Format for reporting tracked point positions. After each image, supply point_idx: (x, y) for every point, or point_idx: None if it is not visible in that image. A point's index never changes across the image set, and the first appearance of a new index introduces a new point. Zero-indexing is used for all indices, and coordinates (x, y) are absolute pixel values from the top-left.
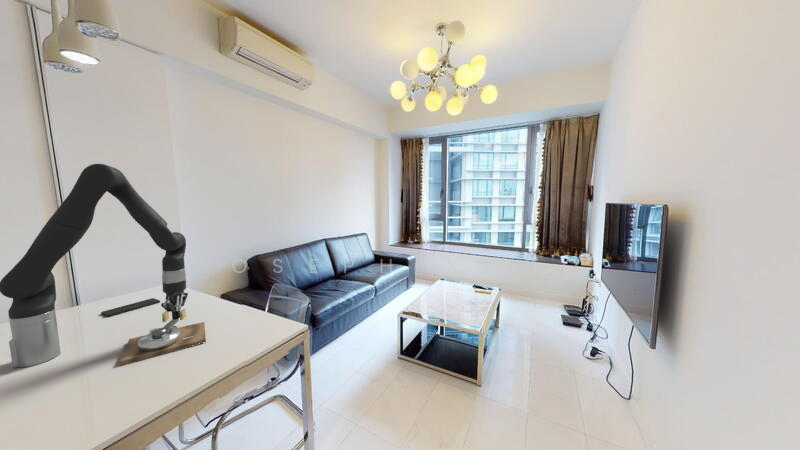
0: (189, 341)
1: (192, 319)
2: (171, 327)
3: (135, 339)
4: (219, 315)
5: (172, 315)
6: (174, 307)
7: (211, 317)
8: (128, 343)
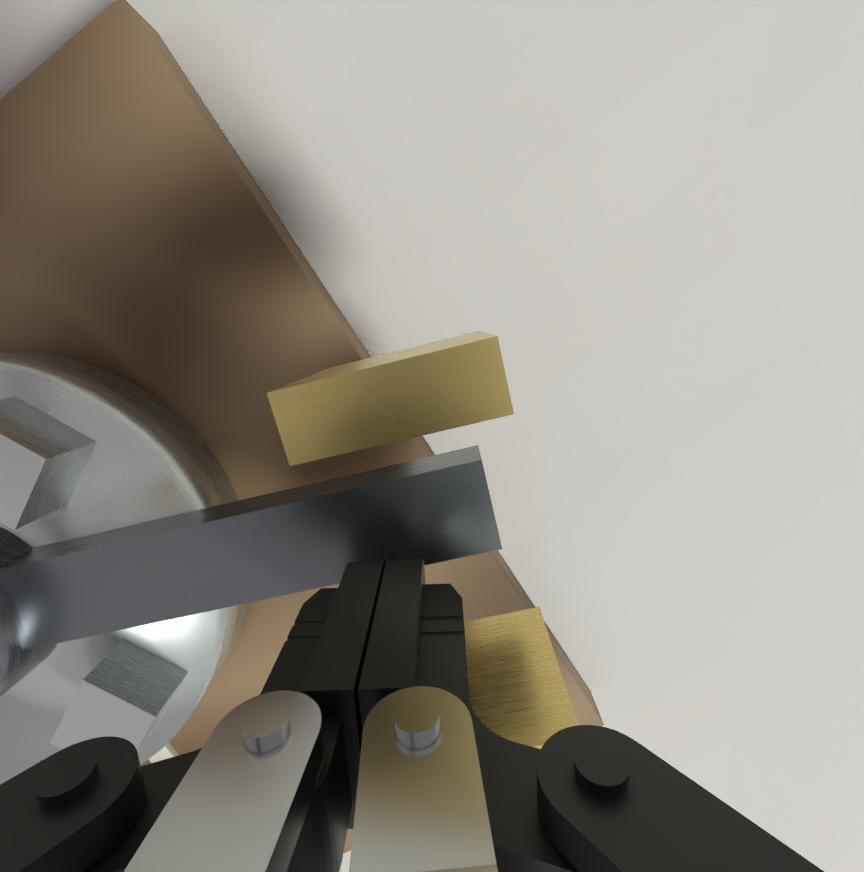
0: None
1: (803, 442)
2: (93, 703)
3: (114, 125)
4: (858, 723)
5: (284, 654)
6: (378, 801)
7: (813, 658)
8: (3, 121)
